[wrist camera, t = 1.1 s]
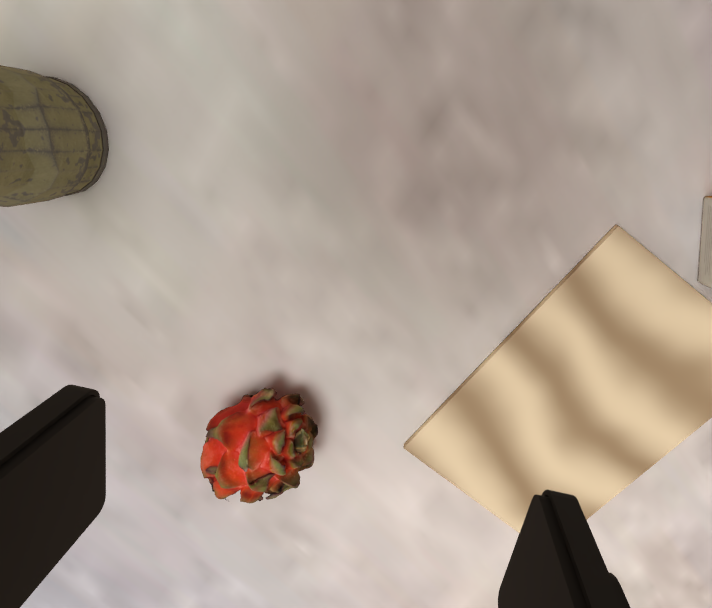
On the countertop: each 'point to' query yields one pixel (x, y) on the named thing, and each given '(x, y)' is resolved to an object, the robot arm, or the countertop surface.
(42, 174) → the thermos
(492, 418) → the maple board
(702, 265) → the small box
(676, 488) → the countertop surface
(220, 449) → the dragon fruit
